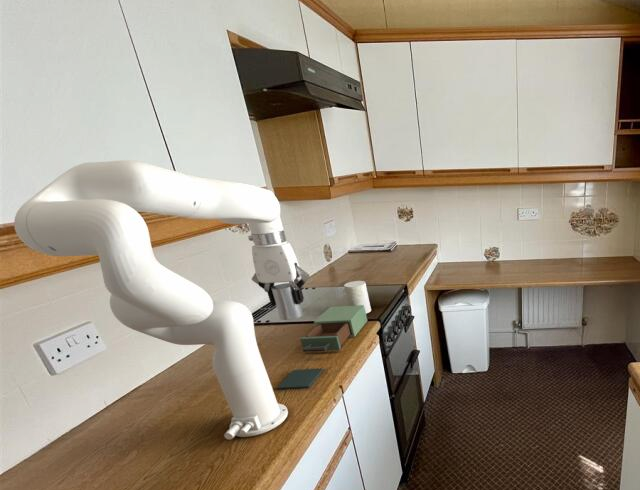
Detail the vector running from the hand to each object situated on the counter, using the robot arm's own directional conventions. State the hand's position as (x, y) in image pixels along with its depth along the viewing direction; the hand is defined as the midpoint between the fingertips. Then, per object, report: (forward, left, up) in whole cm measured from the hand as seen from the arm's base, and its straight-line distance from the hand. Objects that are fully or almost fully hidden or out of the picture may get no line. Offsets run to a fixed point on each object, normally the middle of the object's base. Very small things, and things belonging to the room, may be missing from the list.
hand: (287, 302), depth 114 cm
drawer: (+16, 0, -21) cm, 26 cm away
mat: (-5, 0, -22) cm, 23 cm away
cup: (+49, 0, -22) cm, 54 cm away
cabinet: (+31, 0, -22) cm, 38 cm away
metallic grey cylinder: (0, 0, -4) cm, 4 cm away
